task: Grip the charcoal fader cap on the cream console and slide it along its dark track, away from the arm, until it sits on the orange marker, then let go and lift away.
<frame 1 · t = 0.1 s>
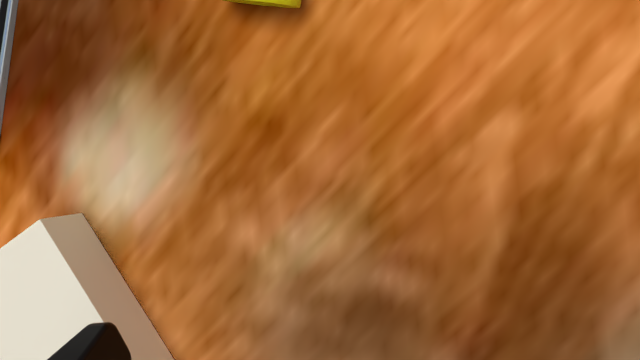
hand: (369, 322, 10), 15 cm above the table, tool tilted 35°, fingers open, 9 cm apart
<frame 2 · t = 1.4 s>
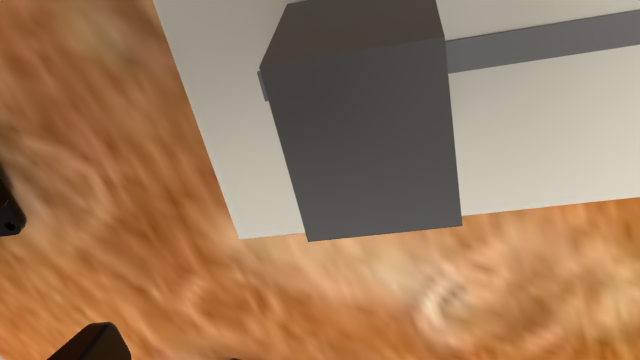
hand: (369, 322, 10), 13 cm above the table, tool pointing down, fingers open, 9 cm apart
fader: (369, 108, 16), point 6 cm above the table, slide at -5.0 cm
console: (522, 8, 19), on the table
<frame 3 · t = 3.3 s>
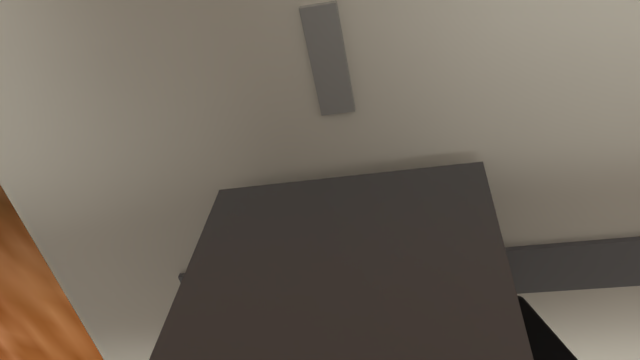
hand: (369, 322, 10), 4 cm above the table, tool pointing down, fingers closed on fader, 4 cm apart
console: (616, 159, 12), on the table
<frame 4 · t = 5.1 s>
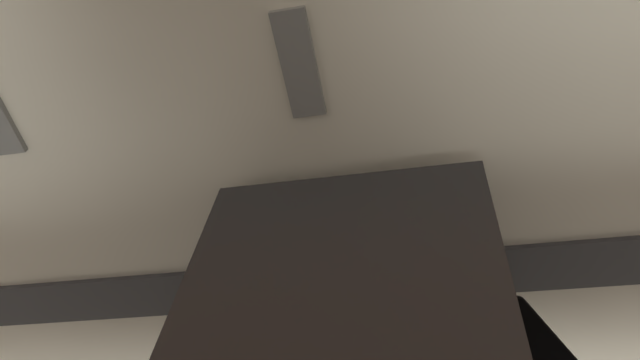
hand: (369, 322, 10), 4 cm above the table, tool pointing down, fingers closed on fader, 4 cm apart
console: (354, 185, 13), on the table
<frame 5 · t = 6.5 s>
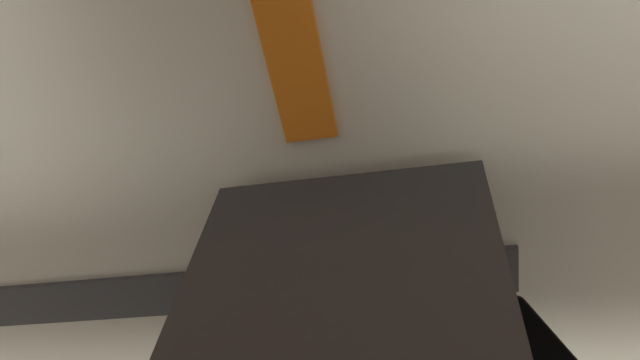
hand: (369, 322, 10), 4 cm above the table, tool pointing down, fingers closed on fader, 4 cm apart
console: (127, 208, 14), on the table
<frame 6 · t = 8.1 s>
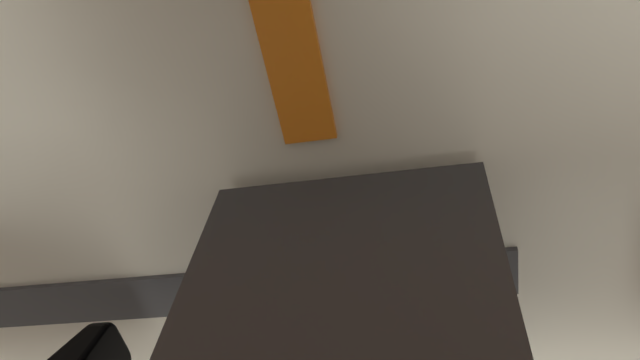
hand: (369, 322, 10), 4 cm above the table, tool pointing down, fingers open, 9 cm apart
console: (125, 209, 14), on the table
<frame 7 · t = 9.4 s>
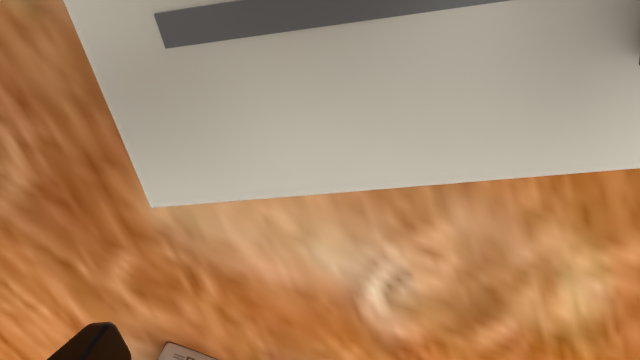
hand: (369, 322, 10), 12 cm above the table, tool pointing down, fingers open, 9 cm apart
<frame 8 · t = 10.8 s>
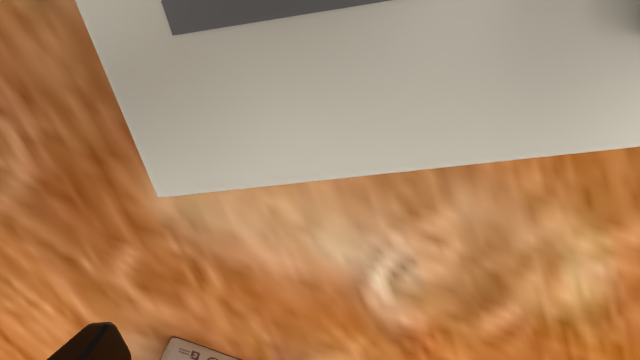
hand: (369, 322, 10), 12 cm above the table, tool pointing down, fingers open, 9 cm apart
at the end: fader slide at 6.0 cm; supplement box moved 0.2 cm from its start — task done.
